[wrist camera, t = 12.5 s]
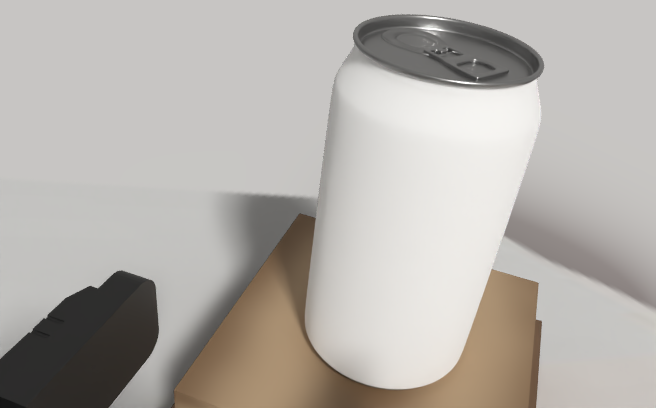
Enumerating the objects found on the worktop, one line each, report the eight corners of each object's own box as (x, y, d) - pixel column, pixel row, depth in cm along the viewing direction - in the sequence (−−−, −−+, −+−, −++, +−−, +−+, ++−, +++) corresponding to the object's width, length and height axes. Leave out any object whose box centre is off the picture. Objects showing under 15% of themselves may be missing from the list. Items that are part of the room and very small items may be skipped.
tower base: (144, 498, 24) (132, 402, 20) (282, 283, 35) (288, 198, 32) (497, 650, 21) (551, 565, 17) (524, 361, 32) (560, 276, 29)
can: (385, 260, 28) (440, 2, 21) (494, 349, 24) (603, 66, 18) (271, 313, 25) (294, 22, 18) (377, 428, 21) (458, 109, 14)
